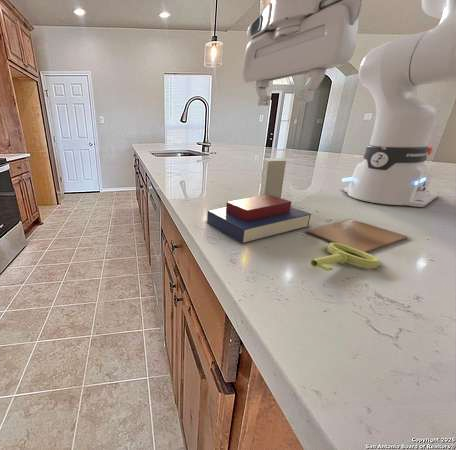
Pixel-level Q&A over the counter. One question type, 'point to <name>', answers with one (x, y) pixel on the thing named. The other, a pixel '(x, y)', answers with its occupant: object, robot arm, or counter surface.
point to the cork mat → (357, 235)
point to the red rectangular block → (258, 207)
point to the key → (345, 257)
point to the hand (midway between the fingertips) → (282, 104)
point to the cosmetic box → (272, 177)
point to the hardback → (257, 224)
